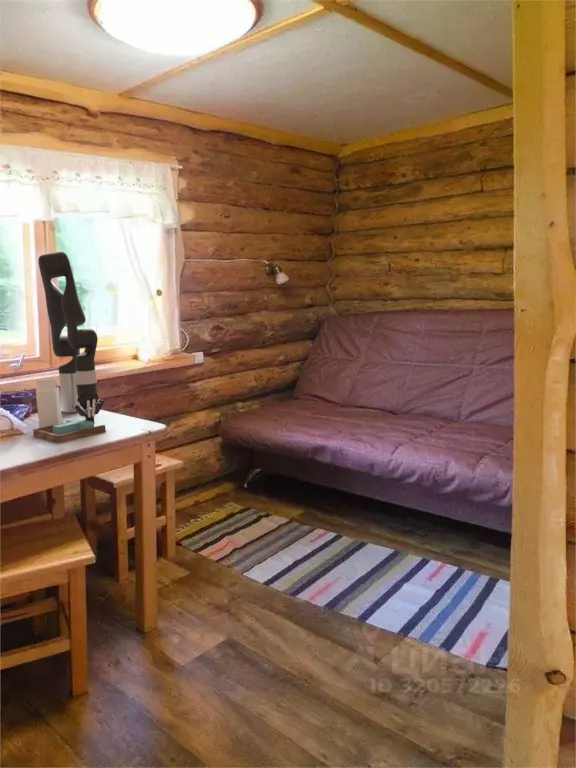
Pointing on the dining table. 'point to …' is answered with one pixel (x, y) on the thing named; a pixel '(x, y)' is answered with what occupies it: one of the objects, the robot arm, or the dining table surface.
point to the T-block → (72, 426)
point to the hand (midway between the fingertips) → (90, 426)
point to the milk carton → (48, 402)
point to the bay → (49, 435)
